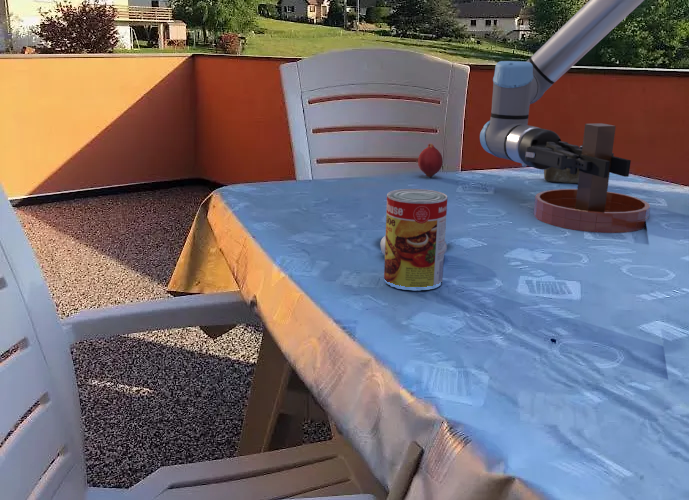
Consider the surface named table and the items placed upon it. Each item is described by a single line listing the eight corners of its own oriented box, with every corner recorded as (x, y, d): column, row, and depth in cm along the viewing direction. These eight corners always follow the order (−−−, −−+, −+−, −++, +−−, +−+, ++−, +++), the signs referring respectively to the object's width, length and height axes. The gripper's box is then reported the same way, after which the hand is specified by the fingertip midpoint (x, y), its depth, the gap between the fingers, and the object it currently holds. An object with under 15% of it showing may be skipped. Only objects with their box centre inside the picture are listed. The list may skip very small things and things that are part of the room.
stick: (591, 208, 125) (601, 123, 121) (604, 213, 122) (615, 125, 118) (574, 209, 124) (585, 123, 120) (587, 214, 121) (598, 126, 117)
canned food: (384, 271, 100) (387, 187, 96) (441, 273, 99) (446, 189, 96) (382, 290, 92) (386, 200, 89) (443, 293, 92) (449, 202, 88)
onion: (422, 173, 171) (423, 140, 169) (445, 176, 169) (447, 142, 167) (413, 177, 166) (415, 143, 164) (437, 180, 164) (439, 145, 162)
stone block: (541, 177, 169) (544, 156, 168) (591, 180, 167) (594, 159, 166) (544, 182, 164) (546, 161, 162) (595, 185, 162) (598, 163, 160)
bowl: (644, 214, 135) (647, 194, 134) (648, 241, 117) (652, 217, 116) (539, 205, 141) (541, 185, 140) (527, 228, 124) (529, 206, 123)
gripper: (568, 164, 141) (654, 188, 120) (495, 168, 135) (572, 194, 114) (572, 126, 138) (661, 144, 117) (499, 128, 133) (578, 147, 112)
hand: (617, 169), depth 116 cm, fingers closed on stick, 3 cm apart
